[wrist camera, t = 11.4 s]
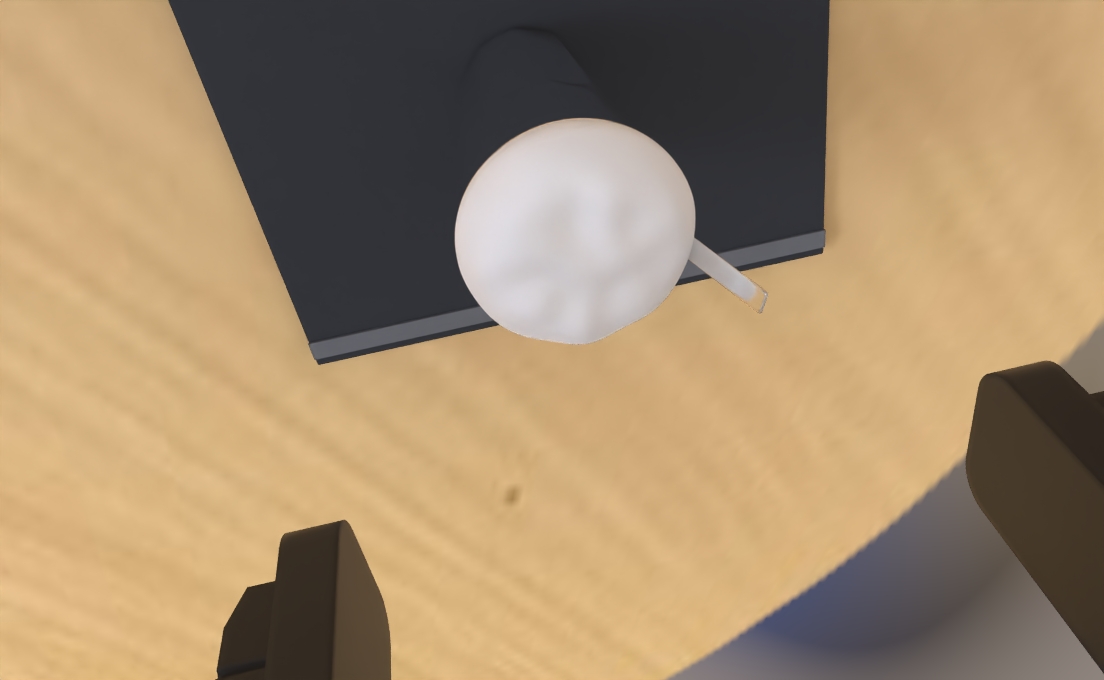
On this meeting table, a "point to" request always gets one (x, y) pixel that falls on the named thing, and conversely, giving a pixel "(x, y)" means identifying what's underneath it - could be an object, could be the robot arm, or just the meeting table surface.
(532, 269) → the milkshake
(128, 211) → the meeting table surface
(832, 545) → the meeting table surface
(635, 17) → the desk pad
